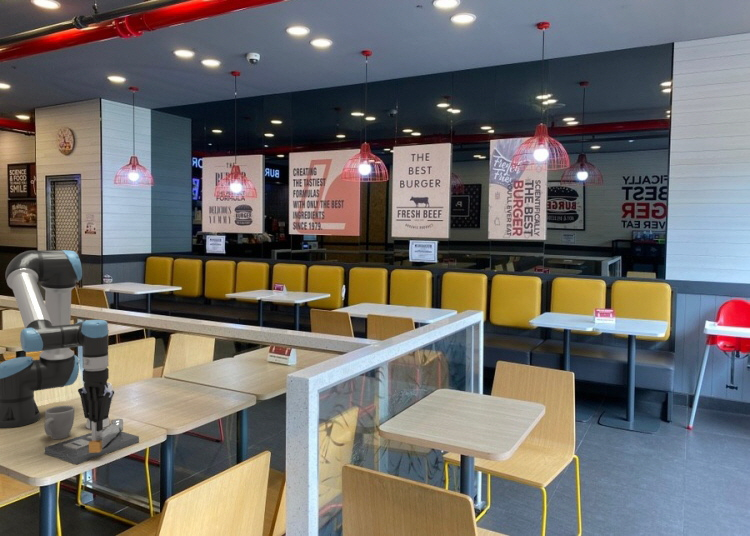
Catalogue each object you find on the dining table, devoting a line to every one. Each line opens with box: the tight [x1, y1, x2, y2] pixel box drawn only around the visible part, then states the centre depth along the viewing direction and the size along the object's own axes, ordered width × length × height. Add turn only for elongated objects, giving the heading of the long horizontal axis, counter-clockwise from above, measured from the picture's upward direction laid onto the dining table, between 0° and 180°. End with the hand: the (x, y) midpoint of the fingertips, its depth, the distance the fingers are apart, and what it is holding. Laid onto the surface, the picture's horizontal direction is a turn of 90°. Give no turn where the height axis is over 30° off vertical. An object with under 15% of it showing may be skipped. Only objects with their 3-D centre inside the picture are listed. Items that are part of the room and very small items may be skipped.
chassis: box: [44, 427, 140, 465], centre depth 186 cm, size 17×22×2 cm
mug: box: [43, 405, 75, 440], centre depth 194 cm, size 12×9×10 cm
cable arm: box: [89, 418, 124, 453], centre depth 186 cm, size 22×4×4 cm, turn 5°
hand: (96, 440), depth 183 cm, fingers closed
